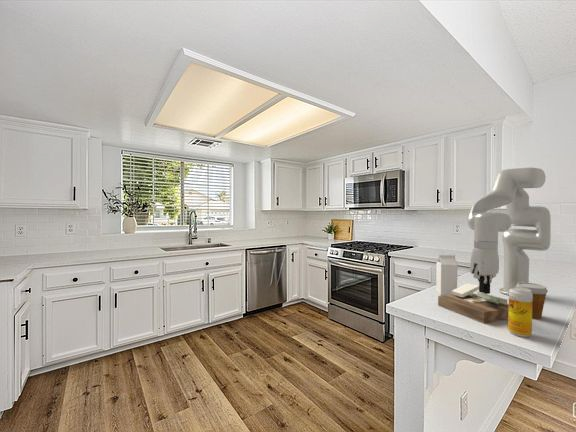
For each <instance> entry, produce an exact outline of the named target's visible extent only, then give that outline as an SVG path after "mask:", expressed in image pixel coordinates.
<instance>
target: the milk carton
mask: <svg viewBox="0 0 576 432" xmlns="http://www.w3.org/2000/svg"><path fill="white" fill-rule="evenodd" d="M458 267H459V265H458V262H457V260H456V255H455V254H439V255H438V258H437V260H436V276H435V277H436V279H435V280H436V281H435V285H436V286H435V287H436V288H435V289H436V290H435V291H436V292H437V294H439V296H443V295H450V294H452V290H454V289H456V288H458Z"/></svg>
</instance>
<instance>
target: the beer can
mask: <svg viewBox="0 0 576 432" xmlns="http://www.w3.org/2000/svg"><path fill="white" fill-rule="evenodd" d="M532 302H533V294H532V292H531V290H529V289H526V288H520V287H511V289H510V290H509V295H508V304H509V313H508V319H507V321H508V322H507V324H508V325H507V330H508V331H509V333H510V334H512V335H514V336H517V337H520V338H529V337H530V336H531V335H532V333H533V332H532V331H533V327H532V325H533V318H532Z"/></svg>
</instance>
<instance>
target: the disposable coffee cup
mask: <svg viewBox="0 0 576 432" xmlns="http://www.w3.org/2000/svg"><path fill="white" fill-rule="evenodd" d="M516 287H520V288H526V289H529V290H531V292H532V294H533V302H532V320H533V319H535V320H539V319H542V317H543V316H542V315H543V310H544V306H545V302H546V301H545V300H546V296H547V294H548V292H549V290H548V289H547V287H546V286H545V285H542V284H539V283H535V282H534V283H532V282H529V283H526V282H520V283H517V286H516Z"/></svg>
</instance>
